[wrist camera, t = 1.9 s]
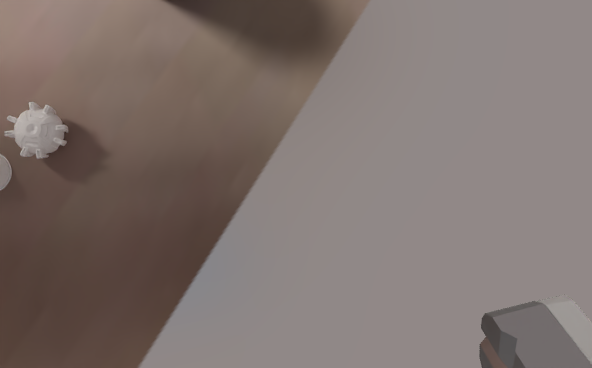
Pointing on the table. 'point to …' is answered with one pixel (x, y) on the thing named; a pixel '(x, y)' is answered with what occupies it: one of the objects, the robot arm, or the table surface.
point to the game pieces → (34, 136)
